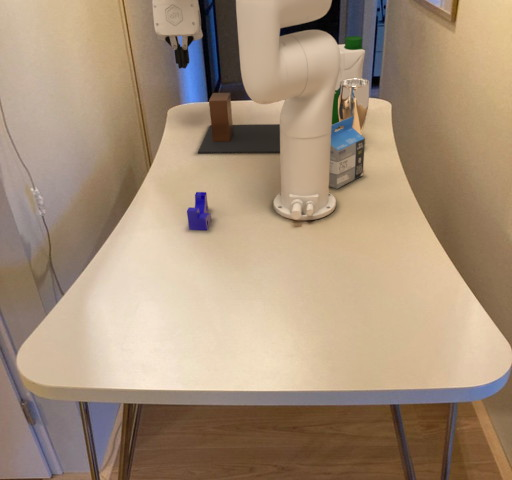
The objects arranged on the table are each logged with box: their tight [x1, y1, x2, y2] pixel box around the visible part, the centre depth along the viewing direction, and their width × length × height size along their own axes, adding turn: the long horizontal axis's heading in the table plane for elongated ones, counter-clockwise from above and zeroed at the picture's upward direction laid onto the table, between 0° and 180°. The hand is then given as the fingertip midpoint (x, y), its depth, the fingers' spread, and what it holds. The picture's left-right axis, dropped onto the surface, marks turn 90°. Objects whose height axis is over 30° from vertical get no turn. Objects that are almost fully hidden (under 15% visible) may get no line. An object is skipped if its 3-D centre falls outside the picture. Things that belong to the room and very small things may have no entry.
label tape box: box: [329, 116, 366, 190], centre depth 116 cm, size 9×4×12 cm, turn 132°
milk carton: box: [332, 35, 366, 129], centre depth 139 cm, size 9×9×20 cm
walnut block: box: [208, 92, 234, 142], centre depth 137 cm, size 6×4×10 cm
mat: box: [197, 123, 280, 155], centre depth 140 cm, size 18×22×1 cm
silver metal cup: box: [338, 77, 370, 137], centre depth 128 cm, size 7×7×15 cm
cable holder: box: [186, 191, 212, 231], centre depth 108 cm, size 8×4×4 cm, turn 171°
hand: (183, 66), depth 131 cm, fingers closed
